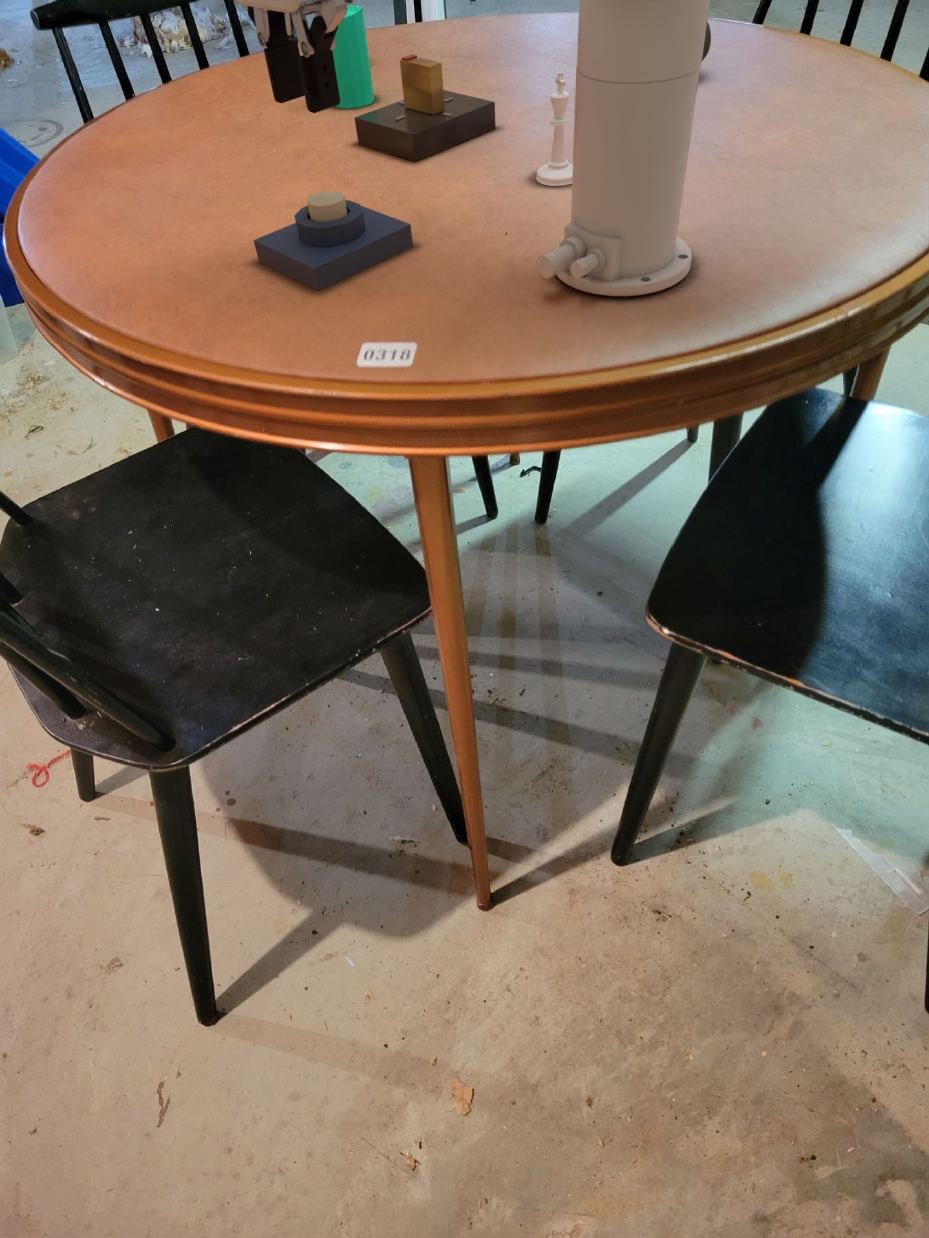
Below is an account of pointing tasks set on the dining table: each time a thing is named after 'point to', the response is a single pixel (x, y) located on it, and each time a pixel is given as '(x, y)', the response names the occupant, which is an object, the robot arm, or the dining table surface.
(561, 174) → the chess piece
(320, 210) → the bell button
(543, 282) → the dining table surface
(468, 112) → the plate
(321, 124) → the dining table surface
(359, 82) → the candle
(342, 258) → the button base
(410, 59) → the lock knob
